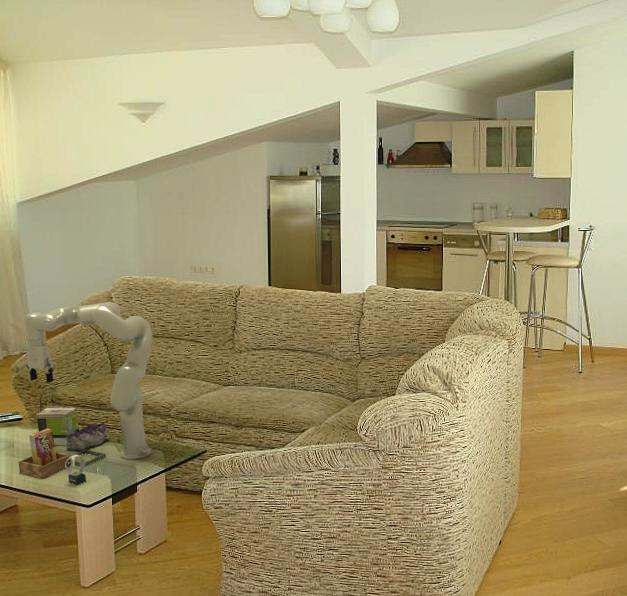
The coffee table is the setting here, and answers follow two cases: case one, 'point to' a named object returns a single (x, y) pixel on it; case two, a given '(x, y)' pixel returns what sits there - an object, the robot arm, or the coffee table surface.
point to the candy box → (42, 447)
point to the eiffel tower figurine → (40, 407)
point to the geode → (87, 437)
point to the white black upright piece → (77, 476)
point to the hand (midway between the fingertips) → (42, 380)
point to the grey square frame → (100, 455)
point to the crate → (46, 470)
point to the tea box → (58, 422)
